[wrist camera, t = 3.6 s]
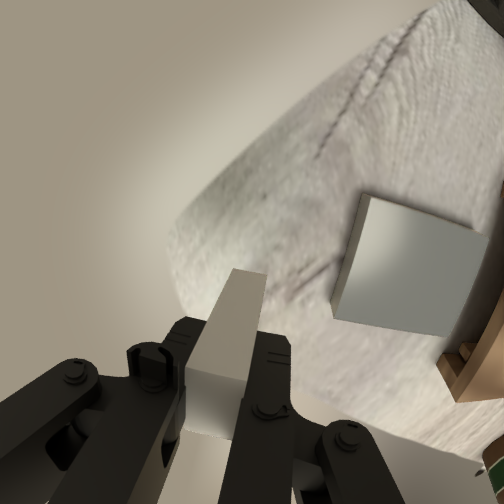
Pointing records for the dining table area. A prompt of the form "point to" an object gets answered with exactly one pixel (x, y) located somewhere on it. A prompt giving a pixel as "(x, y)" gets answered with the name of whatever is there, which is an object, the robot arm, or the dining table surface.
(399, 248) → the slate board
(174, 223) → the dining table surface
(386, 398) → the dining table surface
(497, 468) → the beer bottle
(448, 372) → the walnut arch bridge
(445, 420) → the dining table surface
